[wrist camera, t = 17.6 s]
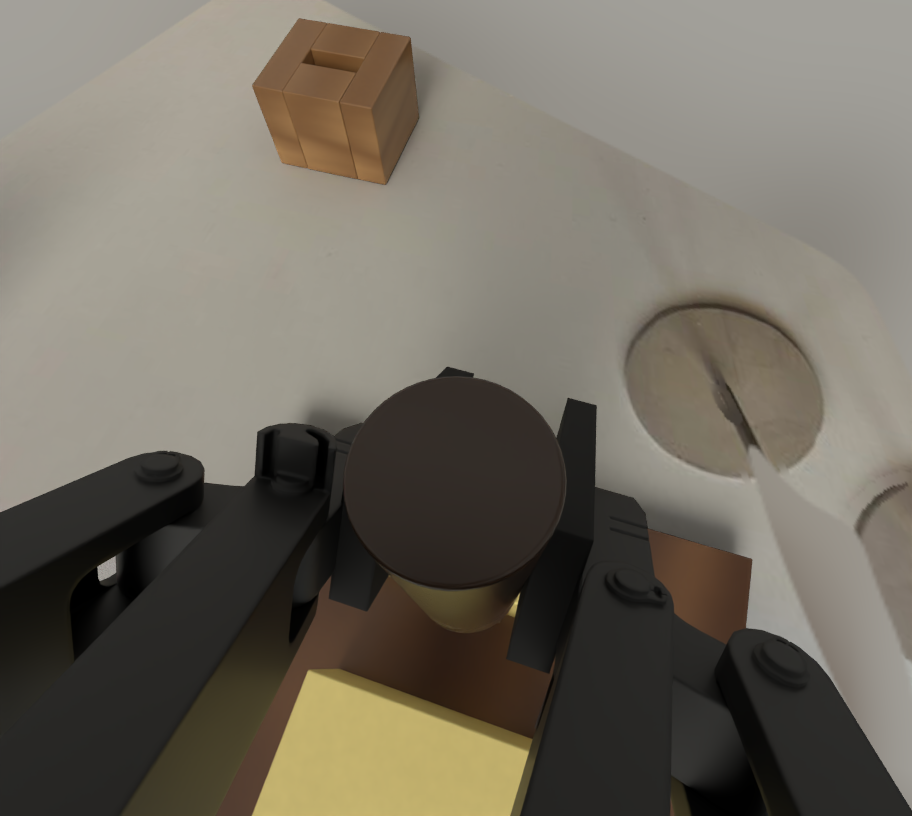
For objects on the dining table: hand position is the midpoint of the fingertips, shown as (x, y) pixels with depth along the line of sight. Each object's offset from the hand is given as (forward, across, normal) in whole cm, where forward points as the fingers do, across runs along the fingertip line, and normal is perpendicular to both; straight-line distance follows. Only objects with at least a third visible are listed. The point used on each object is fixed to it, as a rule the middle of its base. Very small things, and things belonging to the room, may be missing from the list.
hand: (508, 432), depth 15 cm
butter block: (-1, 0, -13) cm, 13 cm away
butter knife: (+3, 0, -8) cm, 9 cm away
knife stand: (+21, -15, +7) cm, 27 cm away
